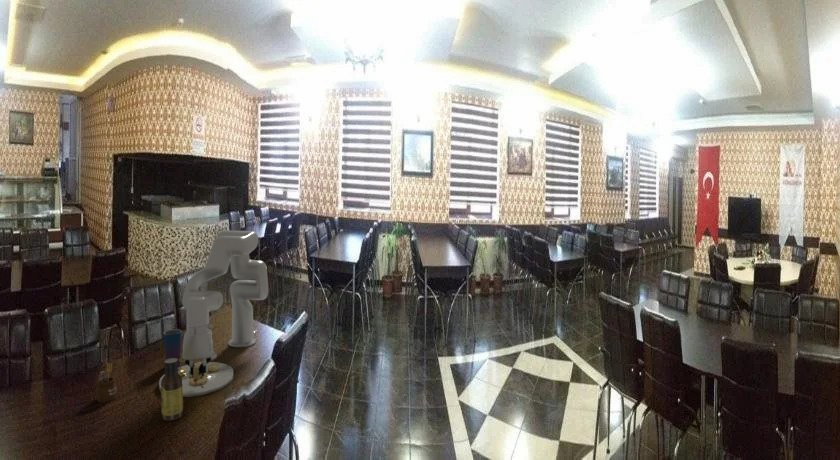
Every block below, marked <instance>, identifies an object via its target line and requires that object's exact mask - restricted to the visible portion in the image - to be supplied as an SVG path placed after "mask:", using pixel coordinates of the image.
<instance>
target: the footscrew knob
mask: <svg viewBox="0 0 840 460" xmlns="http://www.w3.org/2000/svg"><path fill="white" fill-rule="evenodd" d="M202 363H203V361H197V362H196V365H195V366H194V367H193V378H192V376H190V377H189V385H190V386H200V385H203V384H205V383H207V381H208V375H207V374H204V376H202Z"/></svg>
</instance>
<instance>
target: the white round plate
mask: <svg viewBox="0 0 840 460" xmlns="http://www.w3.org/2000/svg"><path fill="white" fill-rule="evenodd" d="M196 363H197V362H196ZM196 363H194V365H196ZM178 373H179V375H180V376H181V377H182V385H183V398H191V397H192V398H193V397H199V396H203V395H204V396H205V395H207V394H212V393H215V392H217V391H220V390H222V389H223V388H225V387H227V386H228V385H230V383H232V381H233V380H234V369H233V367H231V365H228V364H226V363H221V362H215V361H213V362H211V361H210V362H209V363H208V364H207V365H206V373H204V374H207V375H208V381H207V383H205V384H203V385H200V386H190V385H189V377H190V376H192V375H190V367H189V366H188V365H187V364H185V365H182V366H179V367H178ZM164 376H165V373H164V374H163V375H161V377H160V378H159V381H158V389H159V391H160V392H161V381H162V379H163V377H164Z"/></svg>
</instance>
